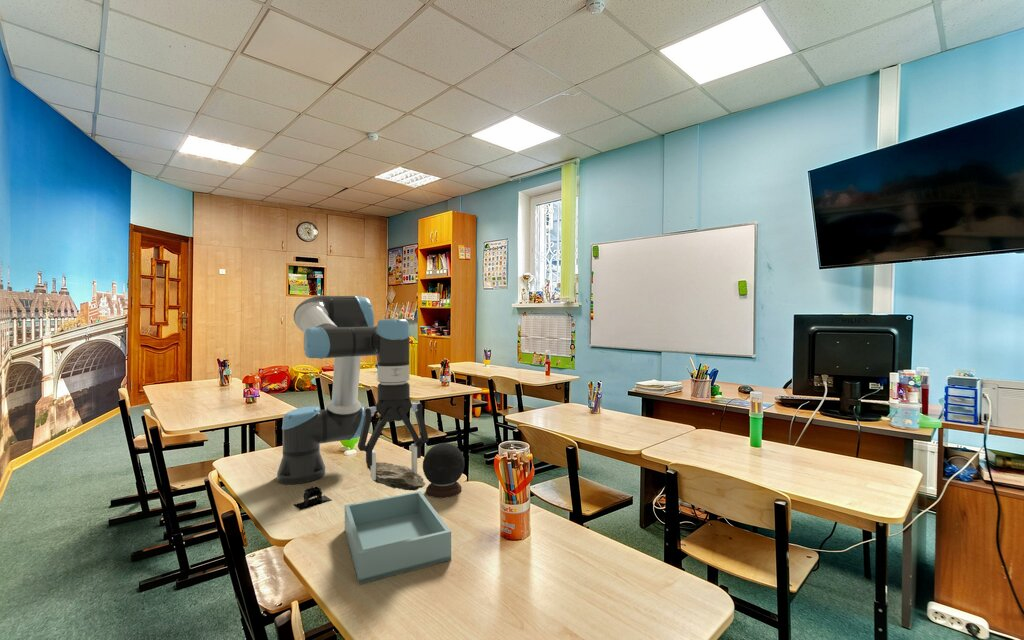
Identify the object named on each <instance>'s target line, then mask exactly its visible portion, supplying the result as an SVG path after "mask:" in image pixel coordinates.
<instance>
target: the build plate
mask: <svg viewBox="0 0 1024 640" xmlns="http://www.w3.org/2000/svg"><path fill="white" fill-rule="evenodd" d="M331 501H333V499H331V498H330V497H328V496H327V495H325V494H323V491H322V489H321V488H320V487H319V486H314V487H309V488H305V489H304V492H303V501H300V502H297V503H294V504H293V506H294V507H295V508H297V509H298V510H300V511H302V510H305V509H309V508H311V507H315V506H318V505H322V504H325V503H328V502H331Z"/></svg>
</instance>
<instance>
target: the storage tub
mask: <svg viewBox="0 0 1024 640" xmlns="http://www.w3.org/2000/svg"><path fill="white" fill-rule="evenodd" d="M344 532H346V533H345V536H347V537H346V540H347V539H348V541H347V544H348V548H349V552H350V555H351V559H352V563H354V564H353V567H354V571H355V574H356V579H357V582H358V585H362V584H366V583H371V582H374V581H378V580H382V579H385V578H389V577H392V576H397V575H400V574H404V573H408V572H410V571H411V572H412V571H415V570H419V569H423V568H427V567H430V566H434V565H437V564H442V563H445V562H450V561H452V531H451V529H450V528H449V526H448V525H447V524H446V522H445V521H444V520H443V518H442V517H441V516H440V515H439V513H438V512H437V511H436V509H435V508H434V507H433V506H432V504H431V503H430V501H429V500H428V499H427V497H426V496H425V495H424V493H422V491H421V490H419V491H418V490H417V491H414V492H408V493H403V494H398V495H393V496H386V497H382V498H375V499H370V500H366V501H360V502H353V503H349V504H344Z"/></svg>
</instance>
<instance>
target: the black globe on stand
mask: <svg viewBox="0 0 1024 640" xmlns="http://www.w3.org/2000/svg"><path fill="white" fill-rule="evenodd" d="M464 470H465V458H464V455H463V453H462V452H461V450H460V449H459V447H458V446H456V445H455V444H452V443H449V442H448V443H447V442H440V443H437V444H435V445H433V446H432V447H430V449H428V450H427V452H426V453H425V455H424V457H423V459H422V471H423V474H424V476H425V478H426V480H427V481H428V482H429V484H428V486H427V487H425V493H426V495H427V496H429V497H431V498H433V499H446V498H452V497H455V496H458V495H459V494H461V493H462V485H461V484H460V483H459V482H458V480H459V479H461V476H462V475H463V473H464Z"/></svg>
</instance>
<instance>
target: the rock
mask: <svg viewBox="0 0 1024 640" xmlns="http://www.w3.org/2000/svg"><path fill="white" fill-rule="evenodd" d="M366 468H367V469H368V470H369V471H370V473H371V466H368V465H367V464H366ZM372 481H373V482H375V483H377V484H380V485H384V486H386V487H388V488H392V489H398V490H404V491H414V492H416V491H418V490H419V489H420V488H421V489H423V488H424V487H425V485H426V482H425V480H424V478H423V476H422V475H420V474H419V473H418V472H417V473H413V471H412V468H409V467H408V466H405V465H397V464H395V463H394V464H393V463H388V462H377V461H376V480H372Z"/></svg>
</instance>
